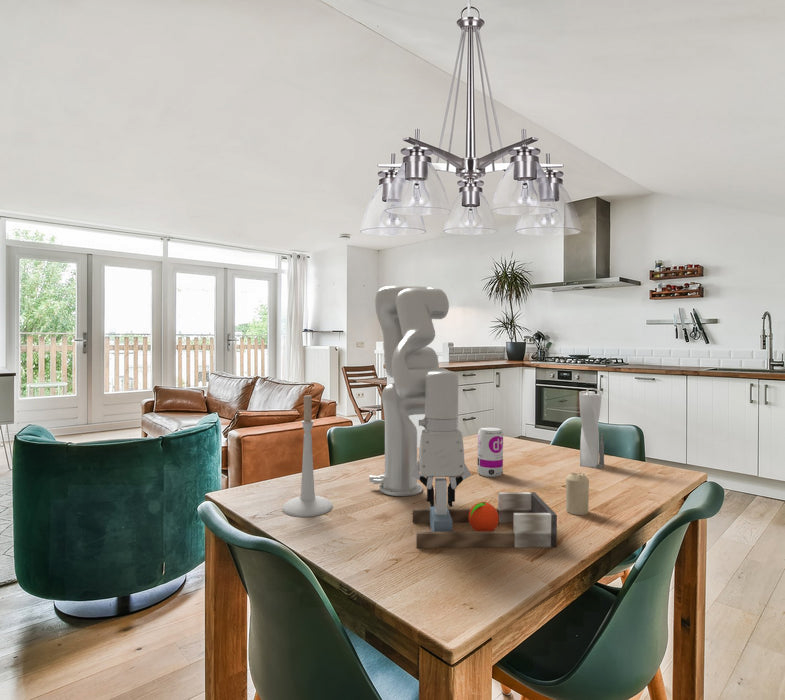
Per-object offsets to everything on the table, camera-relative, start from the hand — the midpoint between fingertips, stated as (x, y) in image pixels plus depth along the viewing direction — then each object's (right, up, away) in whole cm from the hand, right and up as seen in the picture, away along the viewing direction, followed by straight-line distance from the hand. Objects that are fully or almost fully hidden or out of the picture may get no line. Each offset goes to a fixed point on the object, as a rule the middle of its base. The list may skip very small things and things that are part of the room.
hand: (440, 504), depth 112 cm
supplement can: (+21, -6, +50) cm, 54 cm away
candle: (+37, -7, +15) cm, 40 cm away
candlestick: (-33, -6, +17) cm, 38 cm away
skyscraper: (+59, -6, +61) cm, 85 cm away
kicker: (0, -7, 0) cm, 7 cm away
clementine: (+9, -7, 0) cm, 12 cm away
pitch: (+9, -7, 0) cm, 11 cm away
